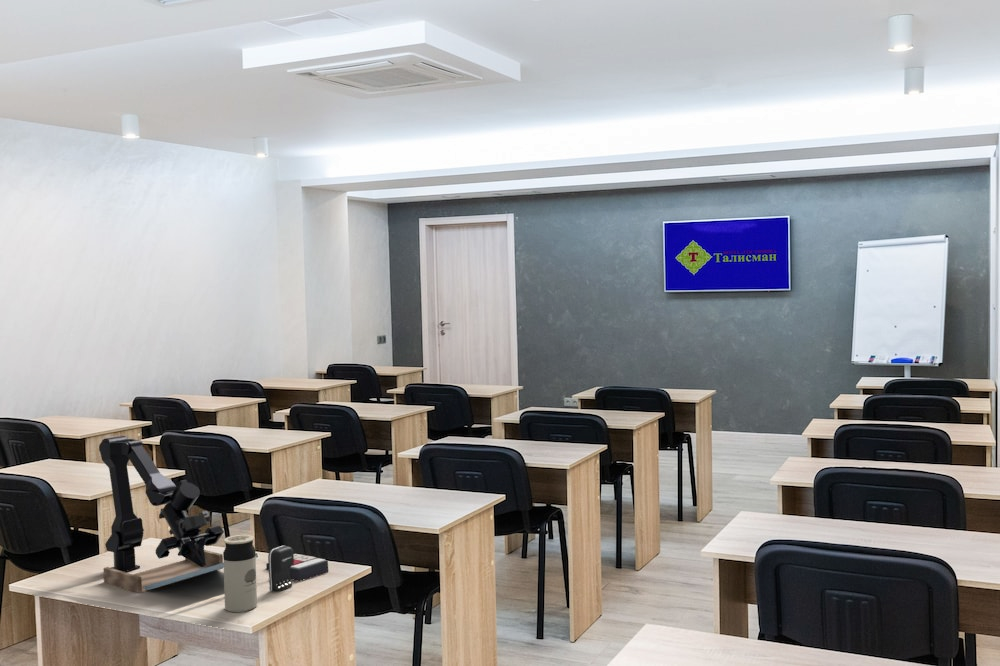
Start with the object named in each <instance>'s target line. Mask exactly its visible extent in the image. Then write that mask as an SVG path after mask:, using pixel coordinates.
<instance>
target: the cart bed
mask: <svg viewBox="0 0 1000 666" xmlns="http://www.w3.org/2000/svg"><path fill="white" fill-rule="evenodd" d="M204 554H205V563H206V565H205V566H204V567H200V566H199V565H197V564H196V563H194V562H192V561H191V560H189V559H187V558H185V557H184V559H183V560H179V561H176V562H172V563H168V564H165V565H161V566H158V567H154V568H151V569H147V570H144V571H139V572H136V573H133V574H132V573H130V572H127V571H126V572H123V571H119V570H116V569H113V568H111V567H109V566H106V567H104V568H103V583H105V584H108V585H112V586H115V587H117V588H120V589H124V590H126V591H130V592H133V593H137V594H140V593H143V592H147V591H150V590H151V589H149V590H146V591H145V587H144V586H147V585H150V584H154V583H157V582H160V581H163V580H167V579H170V578H173V577H176V576H180V575H183V574H186V573H190V572H193V571H197V570H200V569H204V568H207V567H211V566H214V565H217V564H221V563H224V561H223V554H222V553H219V552H214V551H210V550H207V549H204ZM217 570H219V569H217ZM217 570H214V571H217ZM207 573H209V572H207ZM207 573H206V574H207ZM200 575H202V574H200ZM200 575H197V576H200ZM197 576H196V577H197ZM190 578H192V577H190ZM190 578H189V579H190ZM183 580H185V579H183ZM183 580H180V581H179V582H181V581H183ZM173 583H175V582H173ZM173 583H172V584H173ZM167 585H168V584H166V585H163V586H167ZM156 588H158V587H156ZM156 588H155V589H156Z"/></svg>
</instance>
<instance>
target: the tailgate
mask: <svg viewBox="0 0 1000 666" xmlns="http://www.w3.org/2000/svg"><path fill="white" fill-rule="evenodd" d="M258 557H259V556H258V553H257V552H256V559H257V558H258ZM217 569H218V570H221V569H224V562H223V563H221V564H217V565H214V566H211V567H207V568H204V569H200V570H197V571H193V572H190V573H186V574H183V575H180V576H176V577H173V578H170V579H167V580H163V581H160V582H157V583H154V584H150V585H147V586H144V587H145V591H144V592H147V591H150V590H152V589H156V587H157V588H159V587H162V586H163V585H164V586H167V585H169V584H173V582H174V583H177V582H181V581H183V579H184V580H187V579H190V577H191V578H194V577H197V575H198V576H200V574H201V575H203V574H207V572H208V573H211V572H213V571H214V570H215V571H217ZM180 580H181V581H180ZM166 584H167V585H166ZM149 589H150V590H149ZM146 590H147V591H146Z"/></svg>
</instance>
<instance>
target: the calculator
mask: <svg viewBox="0 0 1000 666" xmlns="http://www.w3.org/2000/svg"><path fill="white" fill-rule="evenodd" d="M293 555H294V564H293V565H291V567H290V578H291V580H292V579H294V580H293V581H296V580H298V581H297V582H301V581H300V580H302V581H304V580H303V579H305V580H308V579H311V578H314V576H315V577H317V576H316V575H318V576H321V575H324V574H327V573H329V561H328V559H327V560H326V559H324V558H318V557H316V556H312V555H311V556H310V555H305V554H298V553H293ZM265 565H266V567H265V568H266V570H268V571H269V567H268V562H267V563H266V564H265ZM326 572H327V573H326ZM323 573H324V574H323ZM320 574H321V575H320ZM310 577H311V578H310ZM307 578H308V579H307Z"/></svg>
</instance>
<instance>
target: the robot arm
mask: <svg viewBox="0 0 1000 666" xmlns="http://www.w3.org/2000/svg"><path fill="white" fill-rule="evenodd" d="M98 450H99V452H100V457H101V461H102V462H103V463H104V464H105V466H107V467H108V470H109V477H110V483H111V491H112V499H113V506H114V515H115V517H114V519H113V521H112V524H111V528H110V529H111V531H110V532H111V534H110V536H109V537H108V539H107V540H106V541H105V550H106V551H107V552H112V553H113V566H111V567H110V568H113V569H116V570H119V571H123V572H126V573H127V572H130V571H132V570H137V569H140V568H141V565H137V564H136V551H135V548H138V547H141V546H142V543H143V538H144V532H145V528H144V526H143V520H142V517H138V516H137V515H136V514H135V513H134V507H133V499H132V491H131V485H130V484H131V483H130V477H129V472H128V464H129V461H130V463H131V465H132V466H133V467H134V469H135V470H136V472H137V474H139V475H138V476H140V478H141V479H142V481H143V482H144V485H145V494H146V497H147V499H148V501H149V504H151V505H152V506H153V507H158V506H163V505H164V506H163V507H162V508H160V512H159V514H158V519H160V520H161V519H165V521H166V523H167V525H168V526H169V530H168V533H169V535H173V536H169V537H165V538H162V539H161V541H160V542H159V544H158V545H157V547H156V548H155V554H156V555H155V556H157V558H158V559H163V558H167V557H168V556H169V555H170V550H173V549H178V553H177V556H178V557H180V556H181V557H183V558H184V559H185V558H187V559H189V560H191V561H192V562H194V563H196V564H197V565H199V566H200V567H204V566H205V565H206V563H205V554H204V550H205V546H206V547H208V546H212V545H215V544H217V543H218V542H219V540H220V538H221V537H222V536H223V535H224V533H225V531H224V529H223V527H222V526H221V525H218V524H217V525H214V526H209V527H207V528H206V529H205V530H204V533H201V531H202V530H203V528H202V527H205V526H207V525H208V523H210V522H211V521H212V517H211V514H210V513H209V512H208V510H203V511H200V512H199V513H198V514H196V515H191V516H189V514H188V512H187V511H189V510H190V509H191V508H192V506H193V505H194V503H195V502H196V501H197V499H198V498H199V497H200V494H201V491H200V489H199V487H198V486H197V485H195V484H194V483H191V482H188V481H187V479H183V480H179V482H178V484H177V485H176V484H175V483H174V481H172V480H171V478H169V477H167V476H165V475H163V474H162V473H161V472H160V470H159V468H157V466H156V464H155V463H154V461H153V460H152V458H151V457H150V455H149V453H148V452H147V451H146V449H145V447H144V443H143V441H142V440H140V439H135V438H128V437H126V436H125V435H119V436H114V437H105V438H103V439H102V440H101V442H100V443H99V446H98ZM199 533H201V534H199Z"/></svg>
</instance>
